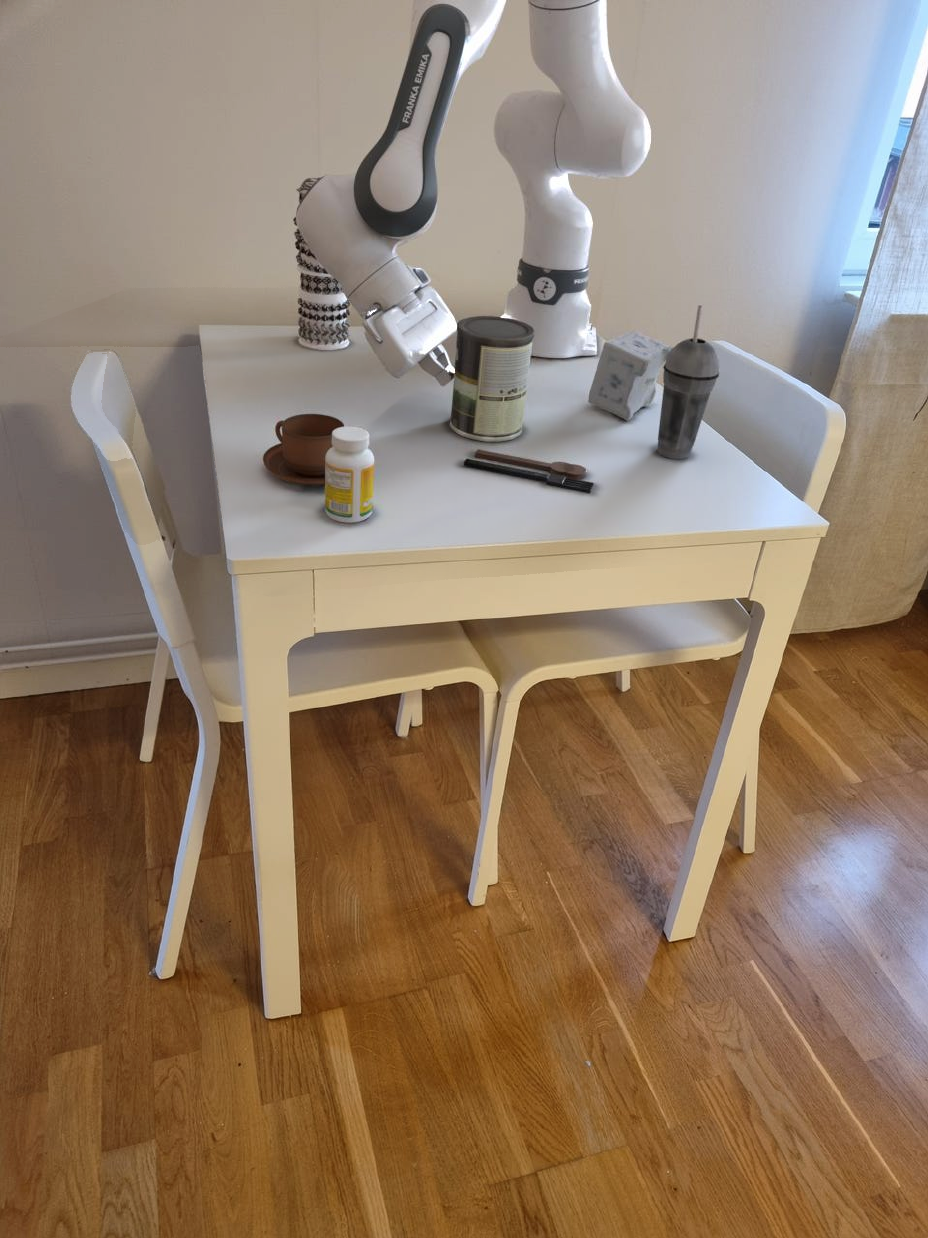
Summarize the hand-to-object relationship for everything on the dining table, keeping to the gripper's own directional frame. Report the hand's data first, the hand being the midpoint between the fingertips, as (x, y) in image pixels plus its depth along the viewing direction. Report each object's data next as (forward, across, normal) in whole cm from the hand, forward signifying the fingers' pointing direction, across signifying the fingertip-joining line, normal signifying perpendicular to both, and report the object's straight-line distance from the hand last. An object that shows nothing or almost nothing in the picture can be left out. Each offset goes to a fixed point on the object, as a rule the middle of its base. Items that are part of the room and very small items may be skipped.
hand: (450, 380), depth 128 cm
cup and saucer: (-2, -24, +11) cm, 26 cm away
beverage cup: (+26, +4, -18) cm, 32 cm away
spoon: (+14, -9, -6) cm, 18 cm away
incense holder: (+20, +18, -12) cm, 30 cm away
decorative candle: (-17, +24, +25) cm, 39 cm away
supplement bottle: (+4, -32, +5) cm, 32 cm away
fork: (+14, -13, -6) cm, 20 cm away
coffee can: (+8, 0, 0) cm, 8 cm away
